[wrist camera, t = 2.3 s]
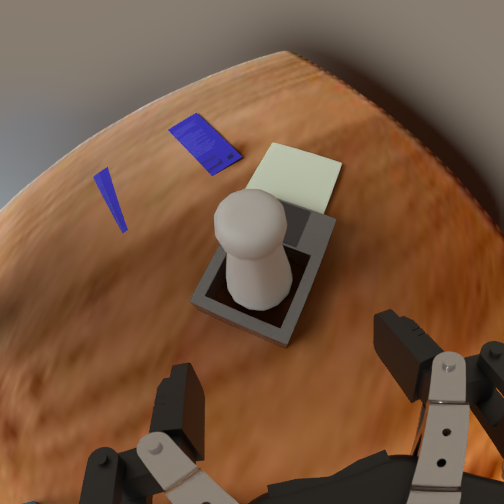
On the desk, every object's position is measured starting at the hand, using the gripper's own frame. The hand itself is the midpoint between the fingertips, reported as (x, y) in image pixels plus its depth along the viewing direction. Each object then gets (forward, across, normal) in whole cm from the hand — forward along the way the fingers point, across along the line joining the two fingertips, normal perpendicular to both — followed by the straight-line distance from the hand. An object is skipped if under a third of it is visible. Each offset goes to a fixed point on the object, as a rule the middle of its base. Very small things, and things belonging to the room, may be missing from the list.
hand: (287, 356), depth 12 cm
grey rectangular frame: (+17, -1, +3) cm, 17 cm away
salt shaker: (+16, 0, +4) cm, 17 cm away
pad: (+24, -7, -4) cm, 25 cm away
